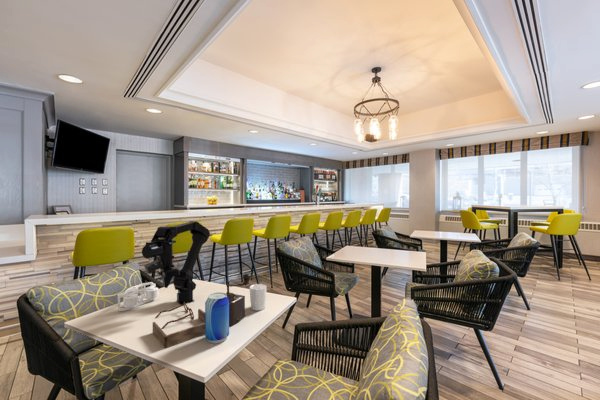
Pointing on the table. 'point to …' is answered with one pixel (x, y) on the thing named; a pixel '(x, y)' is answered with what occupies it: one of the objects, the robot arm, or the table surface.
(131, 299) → the toilet paper holder
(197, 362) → the table surface
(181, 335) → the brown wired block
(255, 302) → the white cup
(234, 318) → the coffee grinder
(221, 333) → the beer can
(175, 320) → the glasses
